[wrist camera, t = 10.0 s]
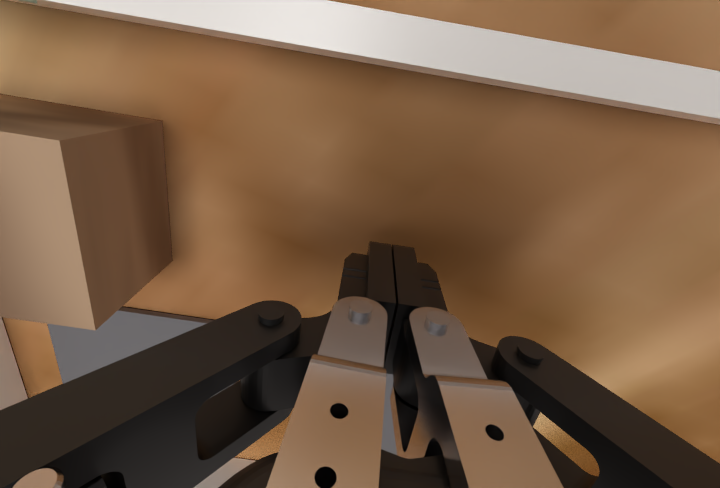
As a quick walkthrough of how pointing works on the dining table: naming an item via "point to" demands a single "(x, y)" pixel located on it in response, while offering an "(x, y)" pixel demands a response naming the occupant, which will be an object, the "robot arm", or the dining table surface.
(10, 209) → the walnut block
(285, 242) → the dining table surface
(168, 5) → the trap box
